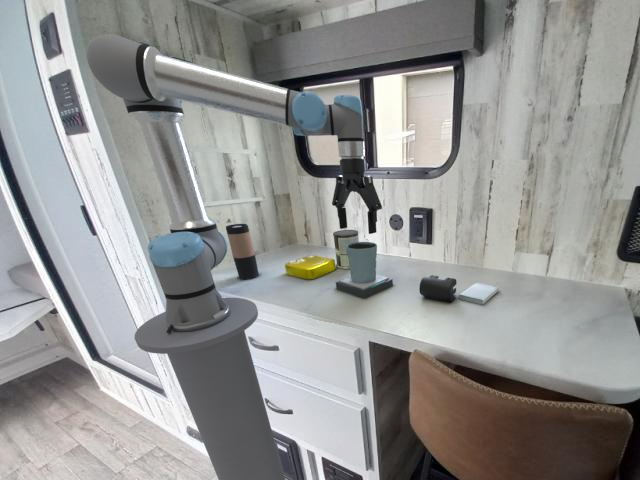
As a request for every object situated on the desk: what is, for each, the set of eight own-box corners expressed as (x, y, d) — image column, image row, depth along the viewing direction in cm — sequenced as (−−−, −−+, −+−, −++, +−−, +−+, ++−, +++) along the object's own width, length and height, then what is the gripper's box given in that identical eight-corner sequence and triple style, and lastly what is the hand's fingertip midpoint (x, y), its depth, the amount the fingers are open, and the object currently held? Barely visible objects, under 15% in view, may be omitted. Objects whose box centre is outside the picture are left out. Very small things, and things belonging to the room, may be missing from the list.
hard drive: (483, 300, 91) (498, 286, 100) (458, 294, 96) (475, 282, 105) (483, 305, 92) (498, 291, 101) (458, 299, 97) (475, 286, 105)
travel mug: (234, 279, 119) (220, 227, 111) (247, 272, 126) (235, 223, 118) (251, 280, 117) (238, 227, 109) (263, 273, 124) (252, 223, 116)
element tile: (310, 280, 115) (308, 268, 113) (284, 274, 123) (281, 263, 121) (337, 269, 127) (336, 258, 125) (312, 264, 134) (310, 253, 132)
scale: (364, 298, 99) (363, 289, 97) (336, 289, 107) (335, 280, 106) (392, 285, 108) (392, 277, 107) (365, 277, 117) (364, 269, 115)
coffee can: (331, 266, 130) (327, 233, 124) (347, 260, 138) (344, 228, 132) (350, 270, 125) (347, 235, 119) (365, 263, 133) (363, 230, 127)
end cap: (419, 300, 97) (419, 279, 94) (428, 292, 102) (428, 272, 99) (449, 305, 92) (449, 285, 89) (457, 297, 98) (458, 277, 95)
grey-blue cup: (343, 279, 107) (340, 245, 102) (367, 272, 113) (365, 239, 108) (360, 286, 100) (357, 250, 95) (384, 278, 106) (383, 244, 101)
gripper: (392, 157, 86) (394, 233, 94) (334, 159, 100) (341, 224, 109) (373, 157, 80) (377, 237, 89) (315, 159, 95) (324, 228, 104)
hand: (357, 230), depth 99 cm, fingers open, 13 cm apart
